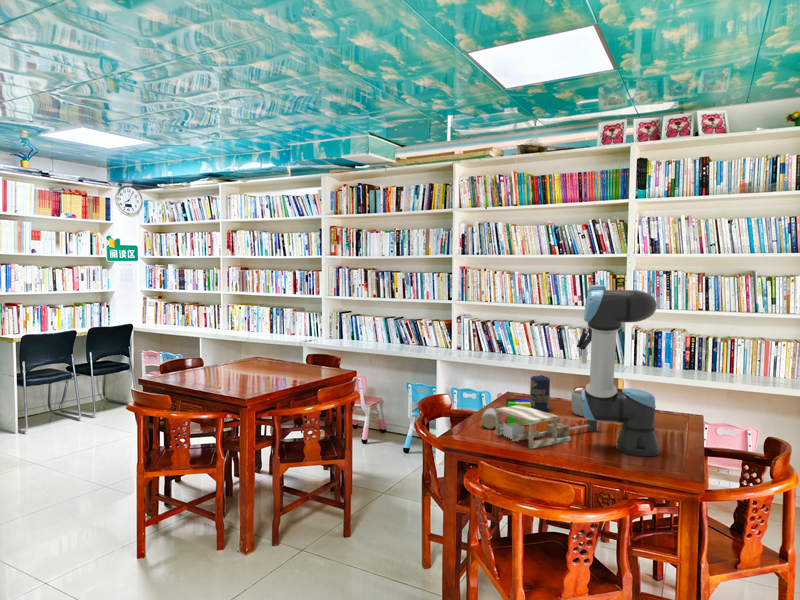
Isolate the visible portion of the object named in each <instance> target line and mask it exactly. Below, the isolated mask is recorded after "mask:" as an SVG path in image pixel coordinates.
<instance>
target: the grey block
mask: <svg viewBox="0 0 800 600" xmlns="http://www.w3.org/2000/svg"><path fill="white" fill-rule="evenodd" d="M502 426H503V435H504V436H503V435H502V436H503V437H505V436H506V437H505V438H507V437H508V438H507V439H509V438H510V439H509V440H511V439H512V435H516V434H521V433H525V426H522V425H519V424H517V423H505V424H503V425H502Z"/></svg>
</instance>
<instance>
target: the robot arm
mask: <svg viewBox="0 0 800 600" xmlns="http://www.w3.org/2000/svg"><path fill="white" fill-rule="evenodd" d="M584 304H585V305H584V312H583V313H584V314H583V320H584V322H586V323H587V328H582V332H581V335H580V338H579V339H578V342H577V345H576V347H577V348H578V349H580V357H581V358H580V359H581V365H582V364H583V365H584V364H587V362H588V359H587V358H588V349H587V347H588V346H589V344H590V364H589V366H590V368H589V369H590V370H589V382H588V383H587V384H586V385H585V389H581V390H582V391H581V394H582V404H583V412H584V416H583V418H585V419H586V421H587V420H594V421H597V422H607V423H608V422H611V423H621V430H620V431H619V432H620V433H619V435H618V437H617V440H616V450H618V451H619V452H621V453H624V454H627V455H631V456H636V457H655V456H658V455H659V454H660V446H659V442H658V439H657V436H656V432H655V431H656V425H655V424H656V408H657V407H656V397H655V395H653V394H652V393H650V392H648V391H645V390H642V389H638V388H632V387H631V388H630V387H624V388H622V390H621V391H618V388H617V387H616V386H615V385H614V380H615V379H614V378H615V364H616V363H615V360H616V353H617V352H618V350H617V348H616V344H617V332H618V331H619V330H620V329H621V328H622V323H639V322H642V321H645V320H647V319H649V318H650V317H652V316H653V315H654V314H655V312H656V310H657V305H658V304H657V300H656V299H655V297H654V296H653V295H652V294H650V293H648V292H645V291H644V290H641V289H640V290H638V289H632V290H631V289H629V290H628V289H625V290H624V289H617V290H616V289H607V286H606V285H604V284H590V285H589V286H588V290H587V296H586V299H585V303H584Z"/></svg>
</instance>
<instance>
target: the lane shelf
mask: <svg viewBox="0 0 800 600" xmlns="http://www.w3.org/2000/svg"><path fill="white" fill-rule="evenodd" d="M494 409H495V412H496V427H495V436H497V437H499V436H503V435H502V434H503V428H500V425H501V424H500V420H501V415H504V416H506V415H507V416H510V417H513V418H515V419H518V420H519V425H522V426H523V421H524V422H527V423H529V426H528V431H527V432H524V433H521V434H516V435H512V440H511V442H512V441H513V442H512V443H515V442H514V441H516V442H520V441H519V440H521V441H524V440H525V439H526V440H528V449H529V450H532V449H537V448H543V447H546V446H552V445H556V444H560V443H565V442H570V441H572V437H571V436H570V435H569V436H568V437H563V438H558V439H557V423H558V420H559V416H558V415H556V414H553V413H549V412H547V411H539V410H536V409H533V408H530V407H526V406H523V405H516V406H509V407H506V406H504V407H499V408H494ZM549 421H552V424H553V437H551V438H550V437H546V436H545V435H547V430H544V431H541V432H540V431H539V430H534V424H539V423H543V422H544V423H545V422H549ZM540 436H542V437H546V438H541V439H537V440H534V439H535V437H536V438H540Z"/></svg>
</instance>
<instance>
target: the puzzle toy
mask: <svg viewBox="0 0 800 600" xmlns="http://www.w3.org/2000/svg"><path fill="white" fill-rule="evenodd" d="M505 399H506V403H505V404H506V406H505V407H509V406H516V405H523V406H526V407H530V408H531V403H530V399H529V398H508V397H507V398H505ZM505 416H506V417H505V420H506V422H508V423H517V424H519V420H518V419H515V418H513V417H510V416H507V415H505ZM508 423H507V424H508ZM523 425H529V423H527V422H524V421H523Z"/></svg>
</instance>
